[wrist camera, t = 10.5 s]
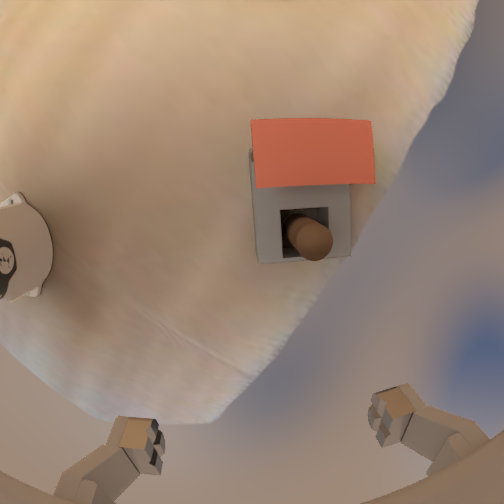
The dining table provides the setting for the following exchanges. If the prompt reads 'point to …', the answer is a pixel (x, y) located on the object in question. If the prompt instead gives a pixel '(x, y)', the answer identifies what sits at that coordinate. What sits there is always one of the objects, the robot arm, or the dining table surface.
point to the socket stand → (307, 178)
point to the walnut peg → (308, 236)
